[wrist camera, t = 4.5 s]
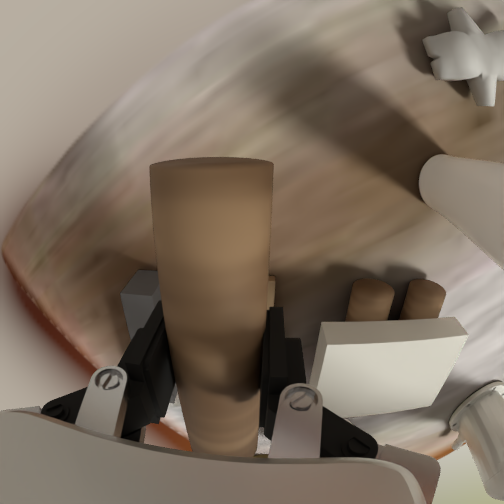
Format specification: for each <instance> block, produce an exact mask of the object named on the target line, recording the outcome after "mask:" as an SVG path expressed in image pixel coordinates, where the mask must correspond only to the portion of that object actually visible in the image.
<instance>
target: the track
mask: <svg viewBox="0 0 504 504" xmlns="http://www.w3.org/2000/svg"><path fill="white" fill-rule="evenodd" d="M274 295H275V276H268V295H267V310H269V307H274ZM445 296H446V291H445V290H444V288H443V287H441V286H440V285H439V284H437V283H435V282H433V281H430V280H425V279H415V280H412V281H411V282H410V284H409V287H408V291H407V294H406V298H405V301H404V305H403V308H402V311H401V315H400V318H399V320H416V319H432V318H438V316H439V313H440V310H441V308H442V305H443V302H444V299H445ZM393 297H394V290H393V288H392V287H391V286H390V285H388V284H387V283H385V282H383V281H380V280H376V279H369V278H365V279H359V280H357V281H355V282H354V283H353V286H352V291H351V296H350V301H349V306H348V310H347V315H346V319H345V322H363V321H387V318H388V315H389V312H390V308H391V305H392V301H393Z"/></svg>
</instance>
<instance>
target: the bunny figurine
mask: <svg viewBox="0 0 504 504" xmlns="http://www.w3.org/2000/svg"><path fill="white" fill-rule="evenodd" d="M447 16H448V20H449V24H450V28H451V31H450V32H446V33H442V34H438V35H435V36H428V37H426V38H424V39H423V40H422V41H423V44H424V46H425V49H426V52H427V55H428V56H429V57H431V58H433V59H434V60H433V61H432V62H431V63H430V64H431V67H432V70H433V73H434V76H435V80H444V81H457V80H464V79H466V81H467V83H468V85H469V88H470V90H471V92H472V95H473V97H474V100H475V102H476V105H477V106H494V103H495V93H496V82H497V81H504V30H501V31H494V32H491V33H487V34H484V33H483V32H482V31H481V30H480V28H479V27H478V26H477V25H476V23H475V22H474V21H473V20H472V18H471V17H470V16H469V15H468V13H467V12H466V11H465V10H464V9H463V8H462V7H461V8H455V9H453V10H451V11H450V12H448V13H447Z"/></svg>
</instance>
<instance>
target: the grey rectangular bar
mask: <svg viewBox="0 0 504 504" xmlns="http://www.w3.org/2000/svg"><path fill="white" fill-rule="evenodd" d="M120 295H121V300H122V305H123V309H124V314H125V318H126V322H127V326H128V330H129V334H130V338H131V340H132V339H133V337H134V335H135V333H136V331H137V330H138V329H139V328H144V326H145V324H146V322H147V320H148V319H149V317H150V315H151V313H152V311H153V310H154V308H155V306H156V304H157V303H158V301H159V300H161V293H160V286H159V278H158V271H149V270H138V271H137V272H136V273H135V275H134V276H133V277H132V279H131V280H130V281H129V282H128V284H127V285H126V286H125V288H124V289H123V290H122V291H121V293H120ZM177 391H178V390H177V386H176V383H175V386H174V389H173V392H172V396H171V399H170V402H169V403H174V402H175V398H176V395H177Z"/></svg>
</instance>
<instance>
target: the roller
mask: <svg viewBox="0 0 504 504" xmlns="http://www.w3.org/2000/svg"><path fill="white" fill-rule="evenodd" d="M273 167H274V164H273V163H272V162H269V161H265V160H259V159H251V158H236V157H202V158H186V159H176V160H169V161H163V162H158V163H155V164H152V165H150V189H151V205H152V218H153V231H154V241H155V251H156V261H157V269H158V278H159V286H160V293H161V300H162V307H163V314H164V320H165V327H166V333H167V339H168V344H169V350H170V355H171V361H172V366H173V371H174V376H175V381H176V386H177V390H178V395H179V399H180V404H181V408H182V412H183V417H184V421H185V425H186V429H187V433H188V437H189V440H190V444H191V448H192V451H193V452H197V453H205V454H214V455H224V456H237V457H253V456H254V455H255V452H256V450H257V443H258V430H259V408H260V384H261V369H262V353H263V336H264V331H265V327H266V312H267V295H268V276H269V257H270V237H271V215H272V192H273Z"/></svg>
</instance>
